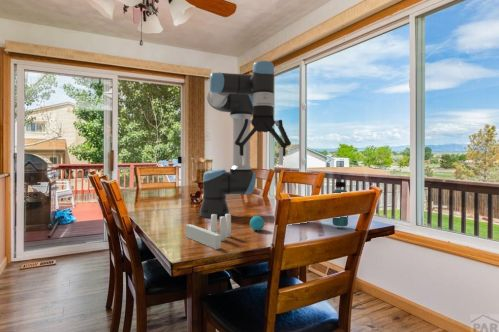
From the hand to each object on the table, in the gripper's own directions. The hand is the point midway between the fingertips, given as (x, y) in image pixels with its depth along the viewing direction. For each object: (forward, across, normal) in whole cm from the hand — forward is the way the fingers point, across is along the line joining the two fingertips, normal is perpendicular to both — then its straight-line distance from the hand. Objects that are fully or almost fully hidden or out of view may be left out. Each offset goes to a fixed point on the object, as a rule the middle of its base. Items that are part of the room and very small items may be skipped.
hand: (262, 165), depth 110 cm
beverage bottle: (+28, +37, +14) cm, 48 cm away
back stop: (+28, -22, +1) cm, 35 cm away
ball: (+24, +1, +15) cm, 29 cm away
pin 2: (+28, -14, +2) cm, 31 cm away
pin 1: (+28, -17, +7) cm, 33 cm away
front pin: (+28, -12, +7) cm, 31 cm away
